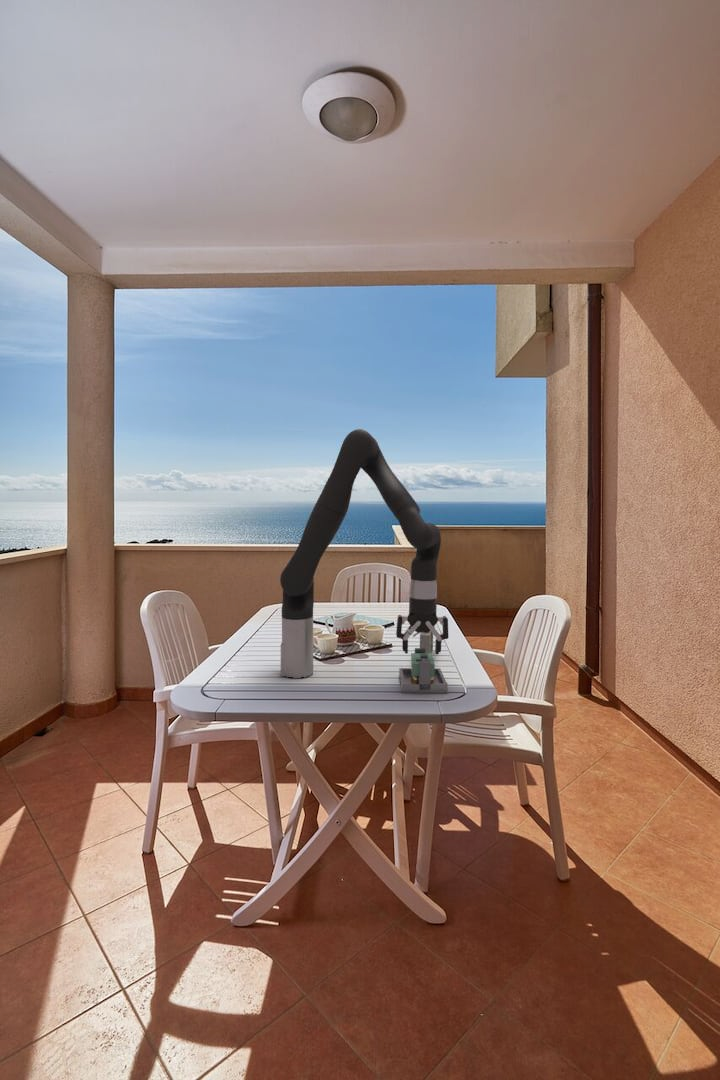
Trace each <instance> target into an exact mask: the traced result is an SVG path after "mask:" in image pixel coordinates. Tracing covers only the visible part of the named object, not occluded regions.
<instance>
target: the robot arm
mask: <svg viewBox="0 0 720 1080" xmlns="http://www.w3.org/2000/svg"><path fill="white" fill-rule="evenodd" d="M361 469H362V470H363V472H365V473H366V475H368V476H369V478H370V479H371V481H372V482H373V483H374V485H375V486H376V489H377V491H379V494H380V496H381V498H382V499H383V501H384V502H385V504H386V506H387V507H388V509H389V510H390V512H391V513H392V515H393V516H394V517H395V518H396V520H397V521H398V523H399V525H400V528H401V530H402V532H403V535H404V537H405V539H406V540H407V542H408V543H409V544H410V545H411V546H412V547H413V548H415V549H416V553H415V556H414V558H413V559H412V561H411V563H410V564H411V565H410V582H409V592H408V594H409V595H408V596H409V599H408V600H409V601H408V602H409V603H408V615H407V616H403V615H401V614H399V615H397V617H396V618H397V619H396V630H395V632H396V633H395V635H396V638H398V639H401V640H402V642H401V643H402V647H401V648H402V651H403V652H404V653H405V654H406V655H407V654H408V653H409V652H408V651H409V638H410V637H411V636H413V635H414V633H417V632H425V633H428V632H430V631H431V632H432V633H433V637H435V640H434V641H435V643H434V644H435V645H434V649H435V650H434V653H435V655H439V654H440V653H441V652H442V641H444V640H448V639H449V618H448V617H447V616H446V615H443V616H437V615H438V614H437V605H438V604H437V600H438V583H437V568H438V567H437V563H438V559H439V555H440V554H439V553H440V551H441V550H440V548H441V542H442V535H441V531H440V528H439V527H438V526H437V525H435V524H433V523H432V522H431V523H430V522H425V521H424V519H423V518H422V515H421V514H420V513H421V508H420V507H419V505H418V503H417V502H416V501H415V499H414V498H413V496H412V495H411V494H410V492H409V490H407V488H406V487H405V485H403V483H402V481H400V480H399V478H398V477H397V476H396V475H395V472H393V470H392V469H391V467H390V465H389V464H388V462H387V460H386V458H385V457H384V455H383V452H382V450H381V448H380V445H379V443H378V441H377V440H376V438H374V437H373V436H372V435H371V434H370V432H368V431H367V430H365V429H362V428H356V429H354V430H352V431H350V432H349V433H348V434H347V435H346V436H345V438H344V439H343V442H342V444H341V446H340V449H339V453H338V455H337V458H336V461H335V463H334V466H333V468H332V470H331V473H330V475H329V476H328V478H327V481H326V482H325V484H324V487H323V489H322V491H321V493H320V494H319V496H318V499H317V501H315V504H314V507H312V508H313V509H312V511H311V513H310V515H309V517H308V520H307V522H306V524H305V527H304V529H303V533H302V535H301V539H300V541H299V543H298V546H297V548H296V550H295V552H294V553H293V555H292V556H291V558H290V560H289V561H288V563H287V564H286V566H285V567H284V569H283V570H282V571H281V573H280V577H279V582H280V586H281V588H282V604H281V644H280V677H285V676H286V677H285V678H288V677H293V678H292V679H302V678H301V677H304V678H307V676H308V677H310V676H312V675H313V674H314V604H315V603H314V598H315V597H314V596H315V595H314V593H315V591H314V590H315V582H314V579H315V578H314V576H315V574H316V571H317V568H318V565H319V563H320V561H321V559H322V557H323V555H324V553H325V552H326V550H327V548H328V547H329V546H330V545H331V543H332V541H333V539H334V537H335V536H336V535H337V533H338V531H339V529H340V527H341V525H342V523H343V522H344V520H345V517H346V516H347V513H348V510H349V507H350V502H351V497H352V492H353V487H354V483H355V480H356V478H357V475H358V474H359V472H360V470H361ZM406 621H407V623H408V624H409V626H408V627H407V628H406V631H404V633H403V632H402V629H403V625H405V623H406ZM438 622H439V624H440V625H441V626H442V633H441V634H440V633H439V632H438V630H437V629H436V628H435V626H436V625H437V624H438Z"/></svg>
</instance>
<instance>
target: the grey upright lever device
mask: <svg viewBox="0 0 720 1080" xmlns="http://www.w3.org/2000/svg"><path fill="white" fill-rule="evenodd" d="M418 634H419V648H425V653H428V654H432V655H433V654H434V655H436V653H435V652H434V644H435V642H434V635H433V633H432V632H431V631H430V632H428V633H425V632H415V634H414V633H413V634H412V637H413V638H415V637H416V636H417V635H418ZM434 659H435V658H434V657H433V660H434Z"/></svg>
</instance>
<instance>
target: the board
mask: <svg viewBox="0 0 720 1080" xmlns="http://www.w3.org/2000/svg"><path fill="white" fill-rule="evenodd" d="M433 658H434V656H433V654H428V653H415V652H411V653H410V668H411V670H412V676H419V661H430V662H431V677H434V668H436V666H435V660H434V659H433Z"/></svg>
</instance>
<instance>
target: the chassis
mask: <svg viewBox="0 0 720 1080" xmlns="http://www.w3.org/2000/svg"><path fill="white" fill-rule="evenodd" d="M414 653H425V648H420V647H415V648H414ZM399 677H400V679H399V683H400V682H401V684H400V687H401V686H402V689H401V693H402V694H433V695H434V694H437V695H438V694H439V695H440V694H443V695H444V694H447V695H448V681H447V680H446V678H445V676H444V674H443V672H442V669H441V668H438V667H437V668H436V667H434V677H431V662H430V661H419V676H412V670H411V667H407V668H406V667H404V668H403V667H399V668H398V678H399Z"/></svg>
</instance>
